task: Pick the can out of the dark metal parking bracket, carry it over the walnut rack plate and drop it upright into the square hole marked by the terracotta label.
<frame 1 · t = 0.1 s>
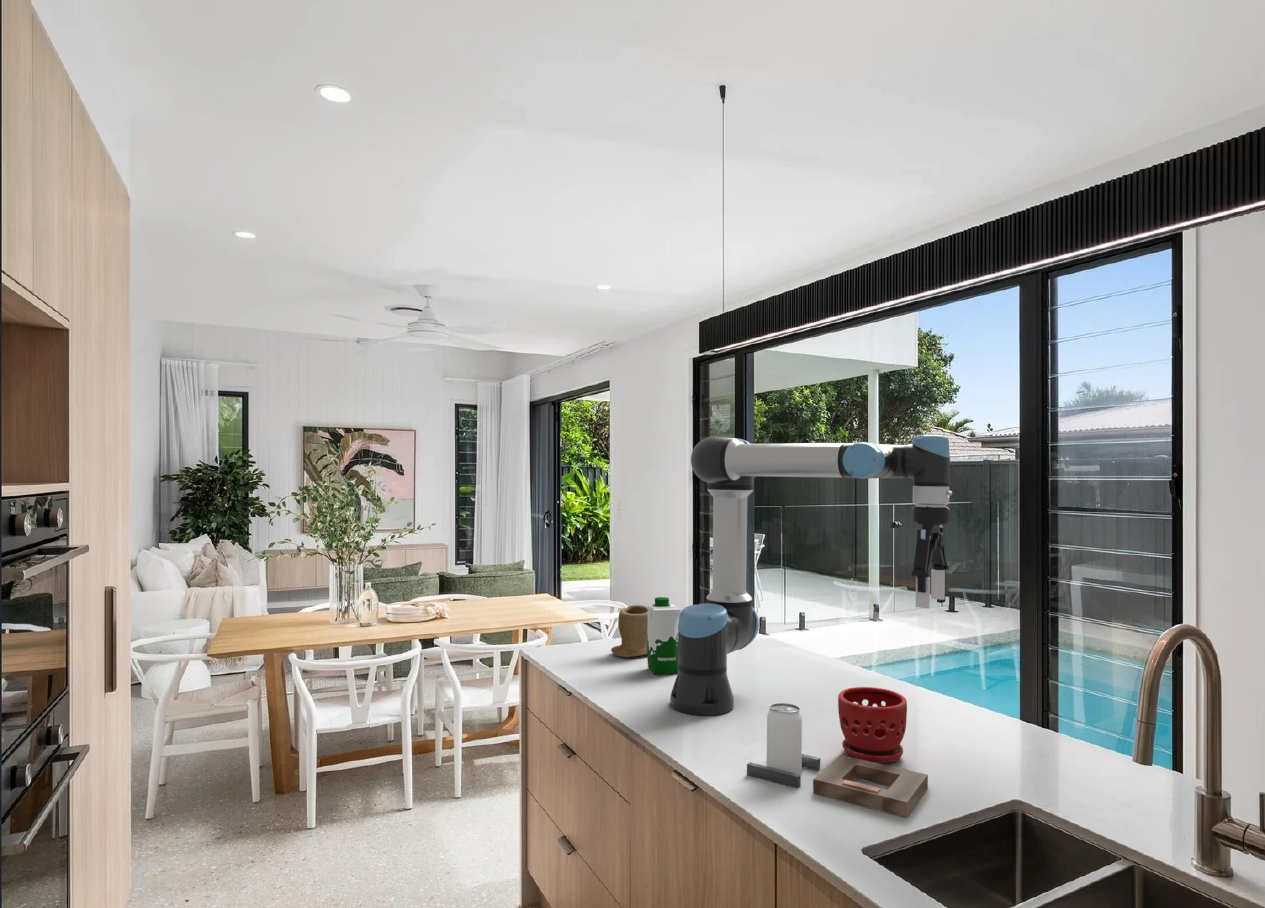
hand: (930, 603, 167), 28 cm above the worktop, fingers open, 13 cm apart
brown boot: (637, 656, 232), on the worktop
rack plate: (871, 790, 135), on the worktop
can: (784, 772, 144), on the worktop
parking bracket: (784, 771, 144), on the worktop
milk carton: (663, 672, 214), on the worktop
plant pot: (871, 756, 152), on the worktop
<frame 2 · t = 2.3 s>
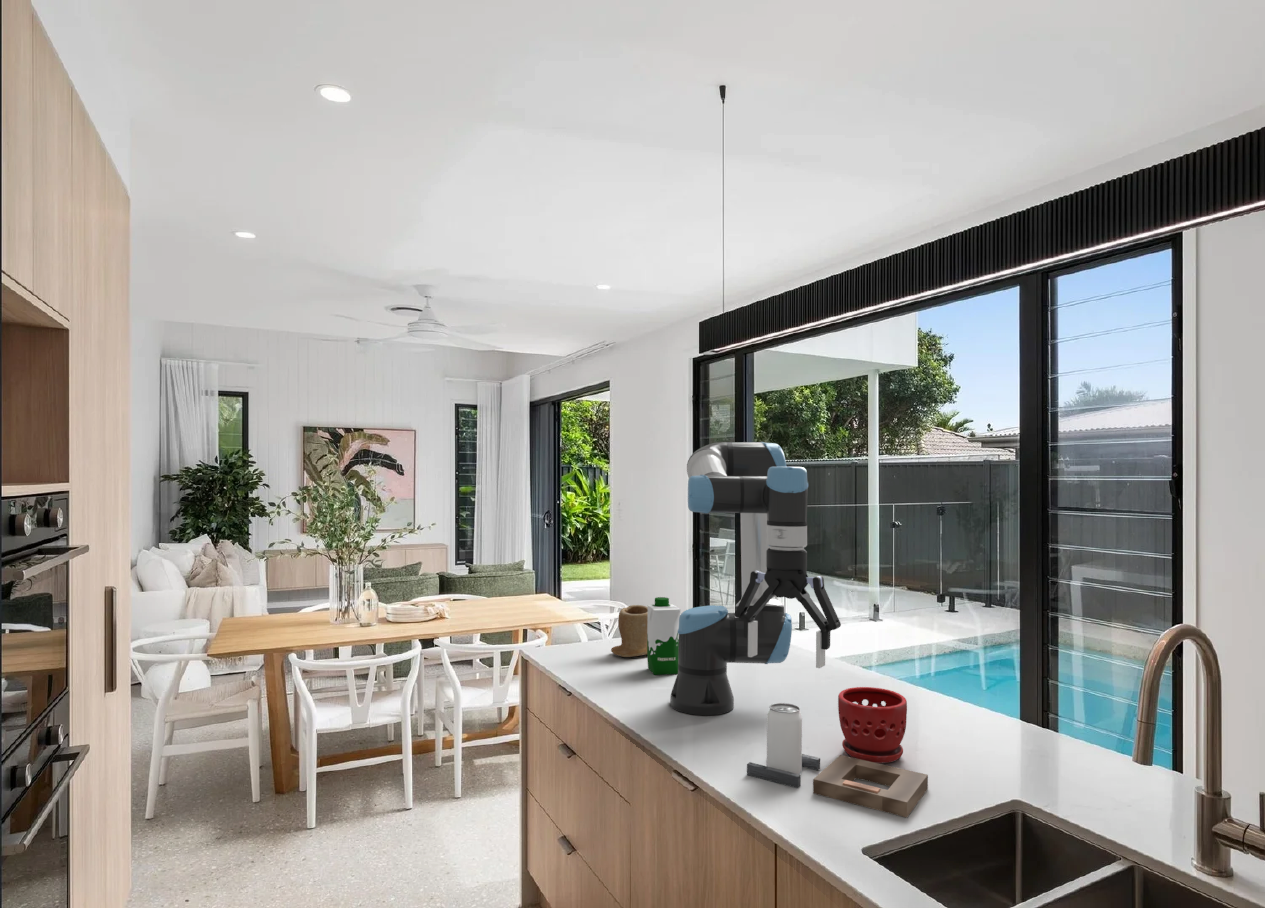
hand: (785, 661, 144), 21 cm above the worktop, fingers open, 13 cm apart
nothing on the worktop moved.
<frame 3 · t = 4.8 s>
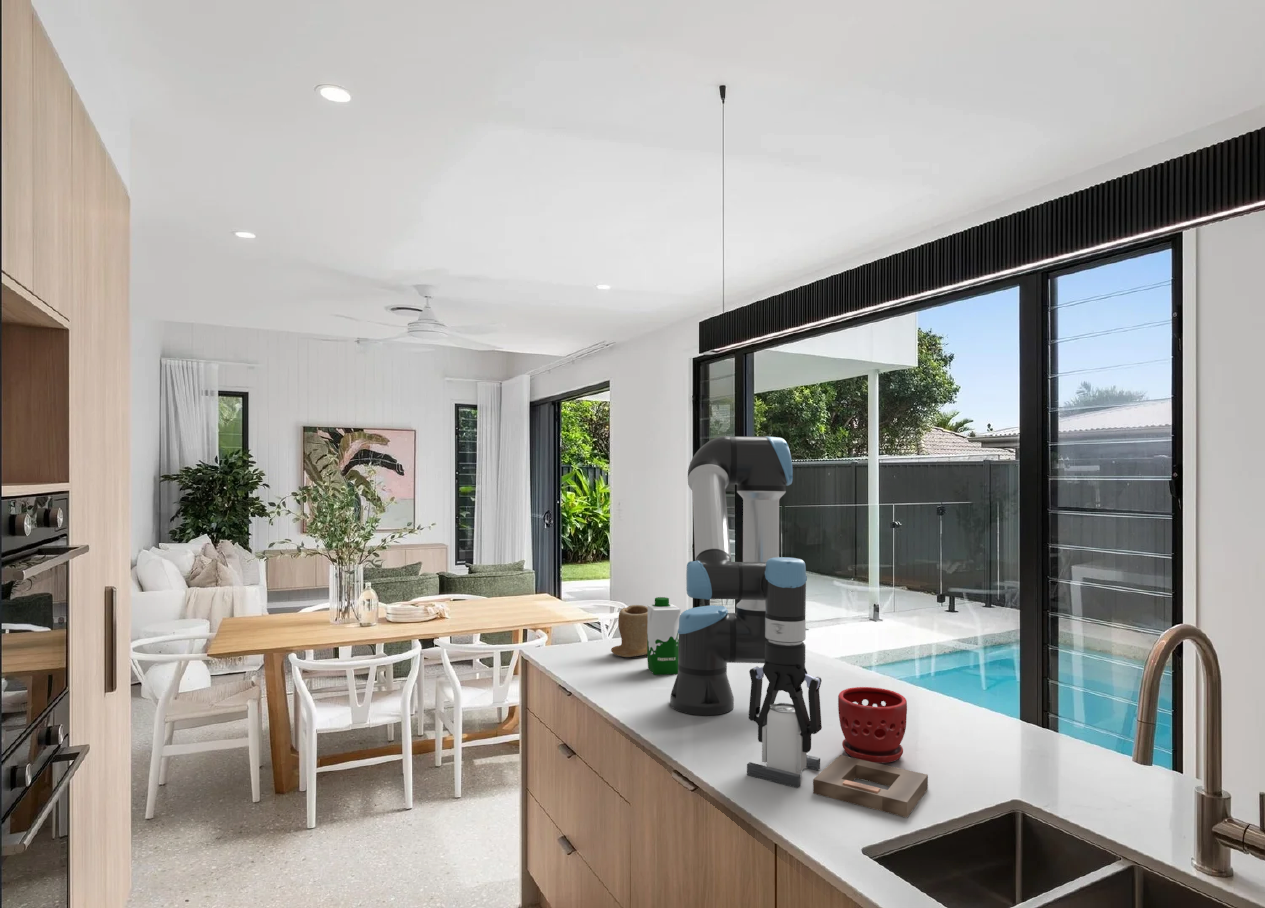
hand: (783, 763, 144), 1 cm above the worktop, fingers closed on can, 6 cm apart
can: (784, 772, 144), on the worktop, touching gripper
everything else where it was.
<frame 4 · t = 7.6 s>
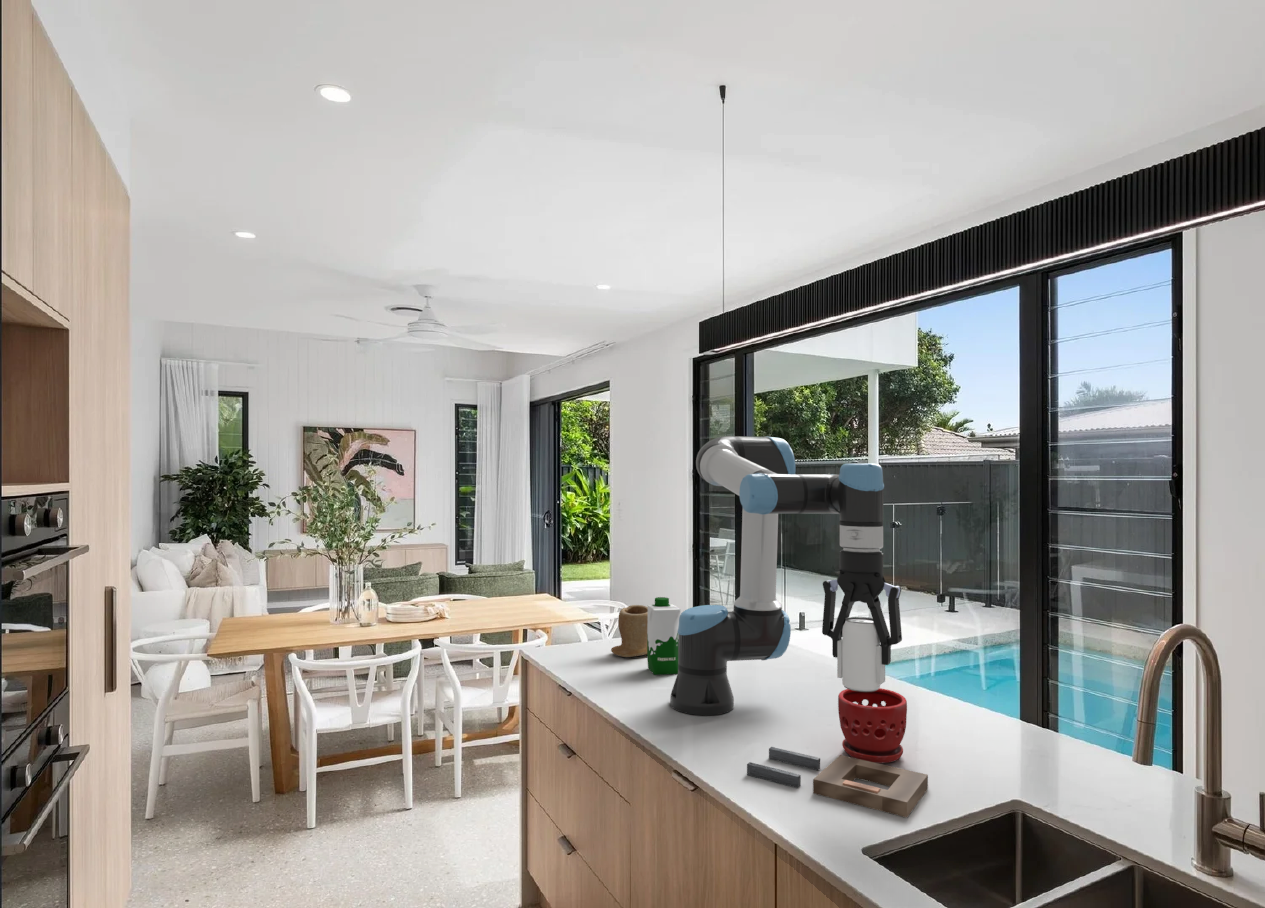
hand: (861, 679, 136), 20 cm above the worktop, fingers closed on can, 6 cm apart
can: (861, 688, 136), point 18 cm above the worktop, touching gripper
everything else where it was.
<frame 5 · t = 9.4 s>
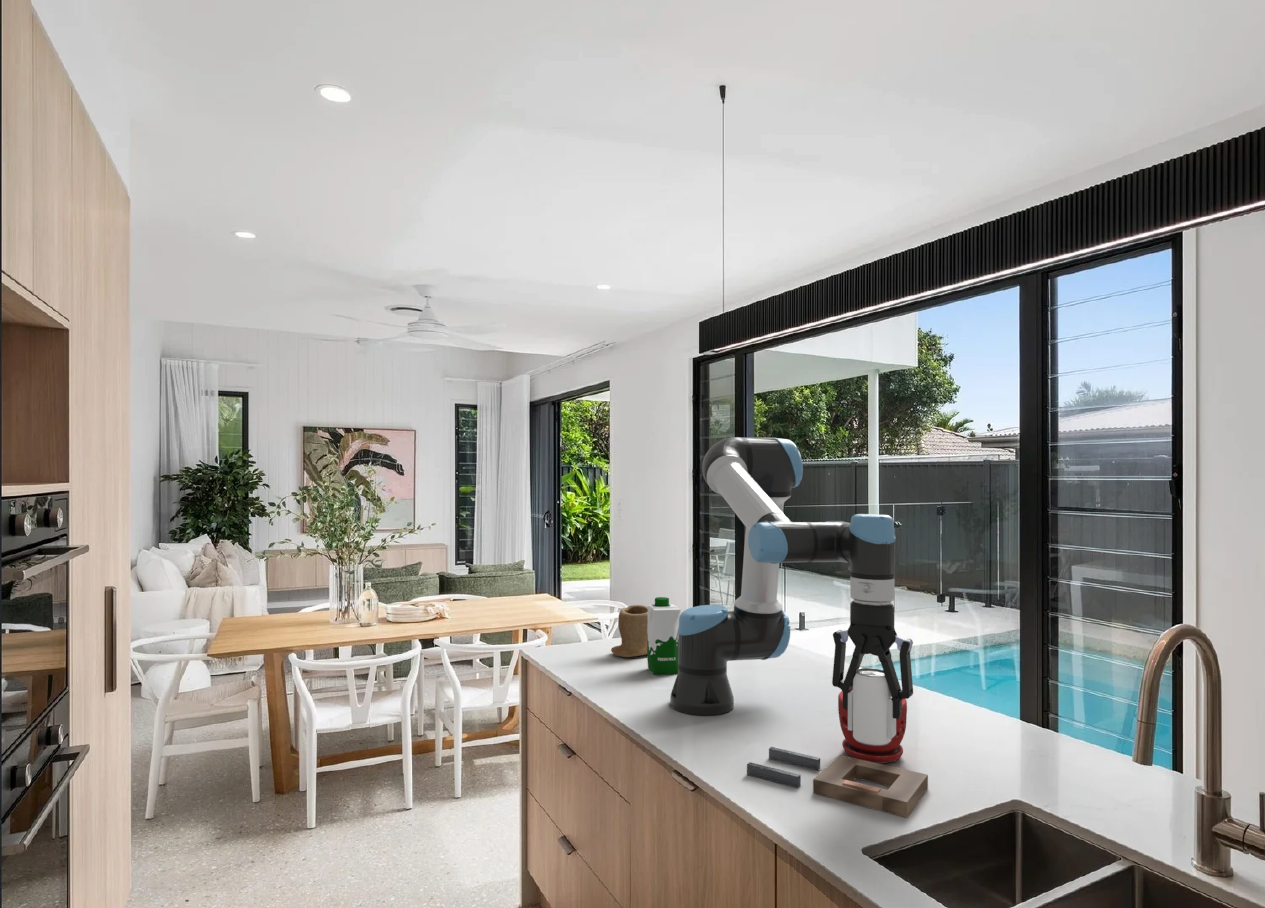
hand: (871, 731, 136), 10 cm above the worktop, fingers closed on can, 6 cm apart
can: (871, 741, 135), point 9 cm above the worktop, touching gripper
everything else where it was.
when the fingers open (5 cm above the worktop, at t = 10.8 s): can drops 3 cm, on the worktop.
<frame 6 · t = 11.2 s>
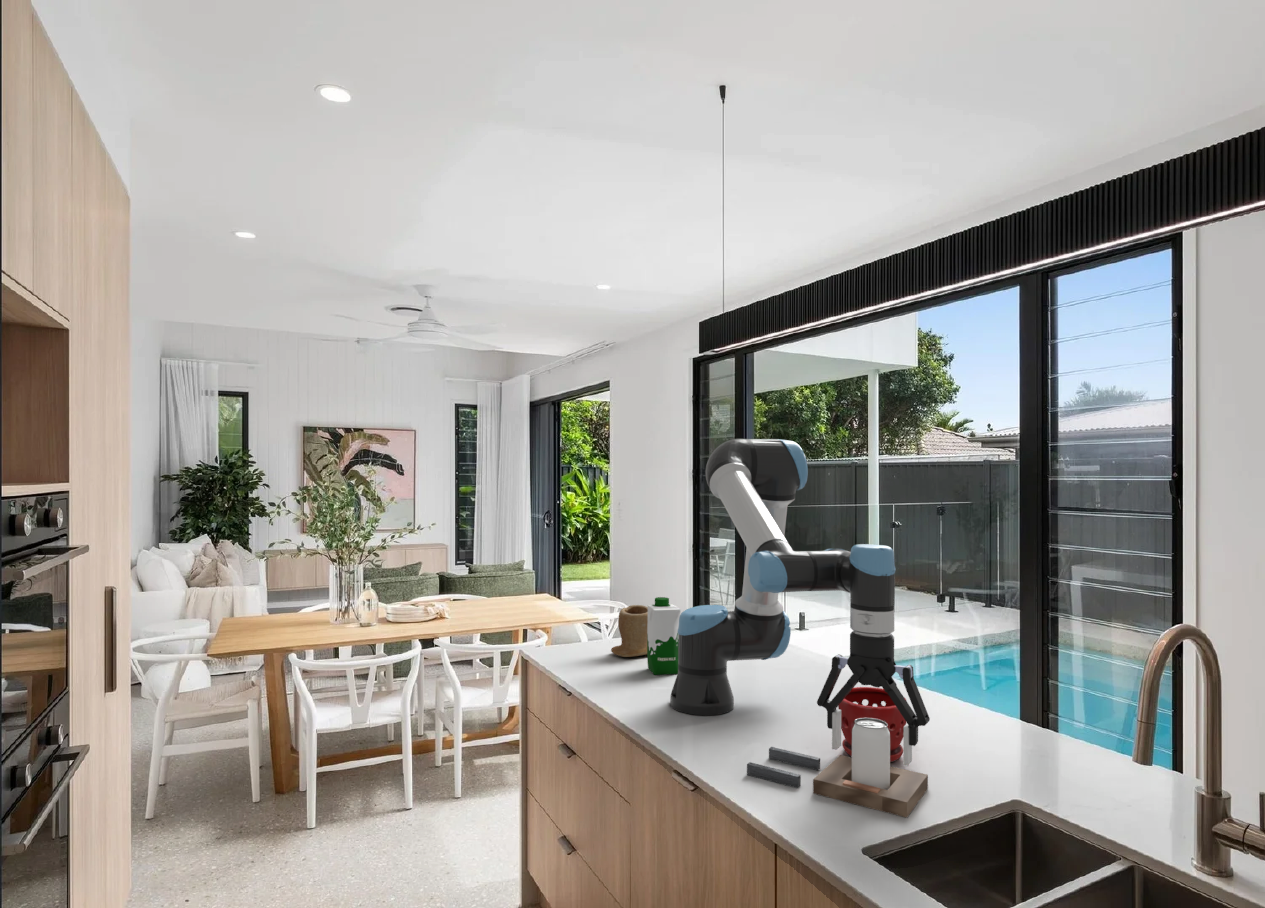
hand: (871, 755, 136), 6 cm above the worktop, fingers open, 12 cm apart
can: (870, 792, 135), on the worktop
everything else where it was.
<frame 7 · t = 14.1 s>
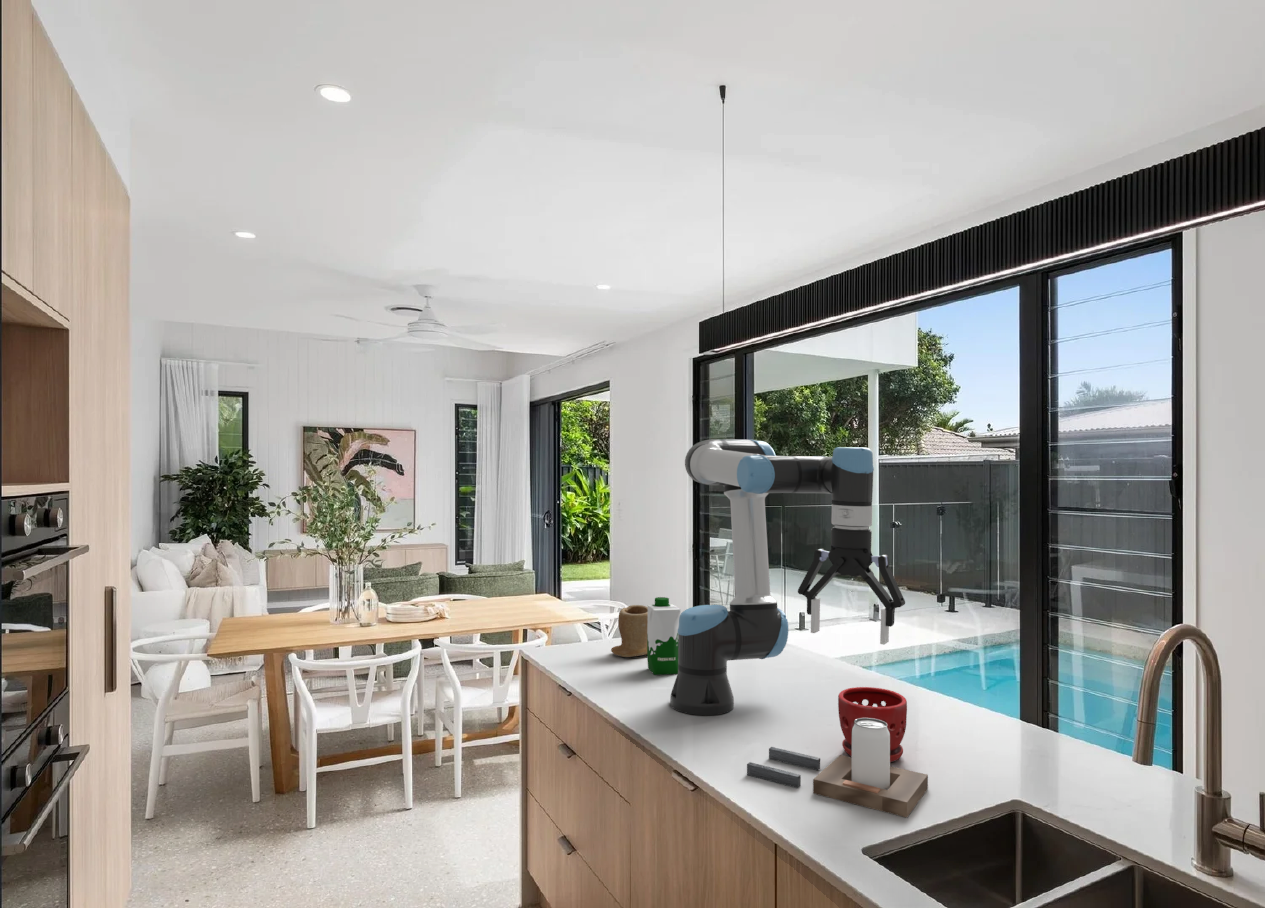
hand: (848, 637, 147), 25 cm above the worktop, fingers open, 13 cm apart
nothing on the worktop moved.
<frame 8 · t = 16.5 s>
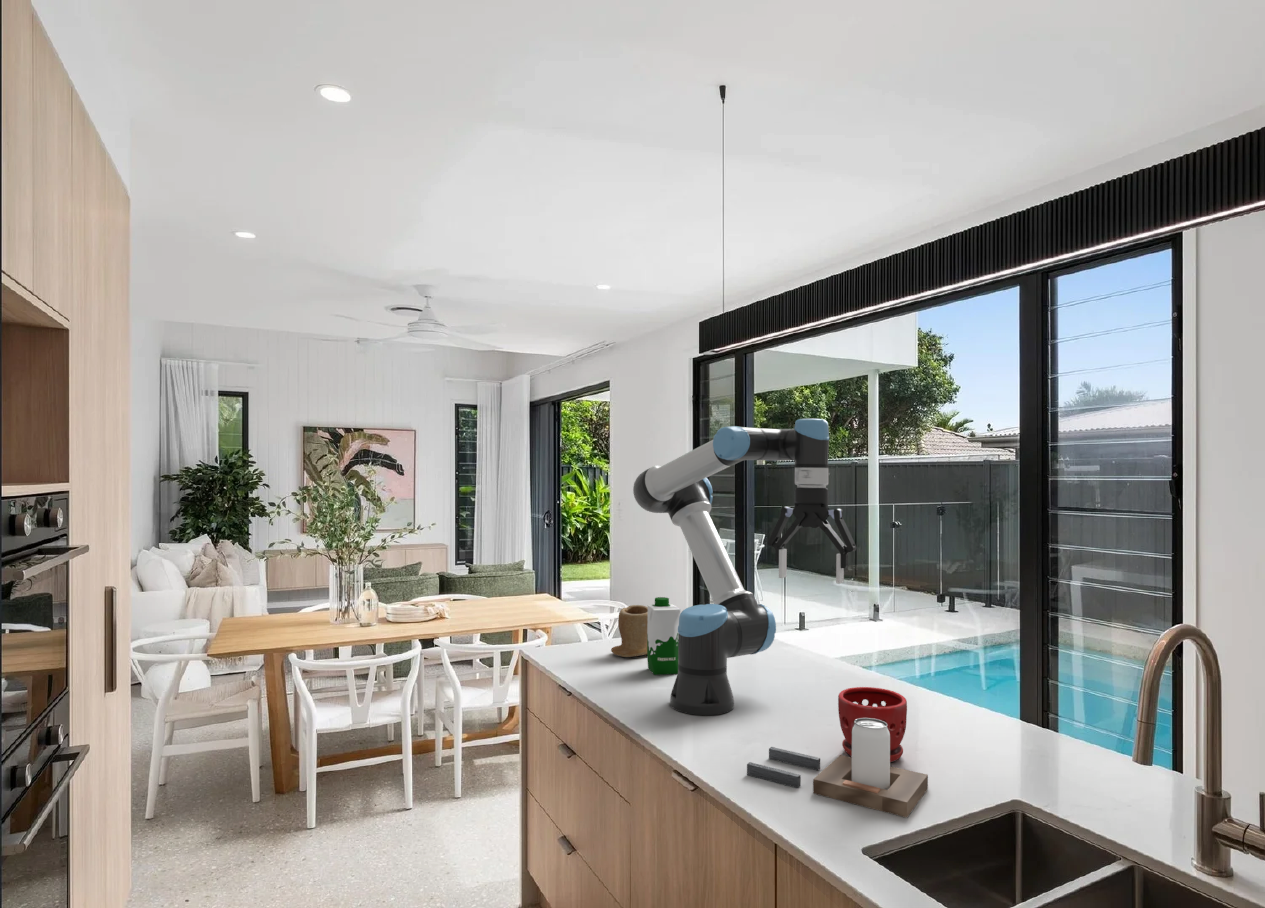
hand: (810, 580, 174), 32 cm above the worktop, fingers open, 13 cm apart
nothing on the worktop moved.
at the end: can 0.1 cm off-centre on the rack plate, point 0.0 cm above the rack plate's base; can tilted 0°; the gripper is holding nothing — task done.
